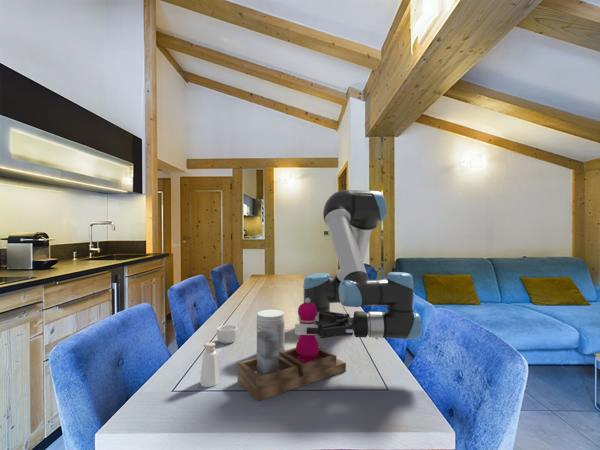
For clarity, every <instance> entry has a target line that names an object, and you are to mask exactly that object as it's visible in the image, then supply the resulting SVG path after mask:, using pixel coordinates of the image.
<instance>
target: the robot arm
mask: <svg viewBox="0 0 600 450" xmlns="http://www.w3.org/2000/svg"><path fill="white" fill-rule="evenodd" d="M386 201H387V200H386V198H385V196H384V194H383V193H382V192H381V191H378V190H361V189H359V190H358V189H356V190H354V189H353V190H350V189H342V190H338V191H336V192H334V193H333V194H332V195H331V196H329V198H328V199H327V200H326V202H325V204H324V207H323V212H322V213H323V214H322V215H323V222H324V225H325V226H326V227H327V228H329V233H330V236H331V240H332V244H333V247H334V251H335V254H336V257H337V262H338V266H339V269H338V270H337V271H336V275H334V276H331V274H330V273H328V272H320V273H312V274H309V275H306V276H305V277H304V279H303V303H305V299H306V298H310V300H311V301H310V303H312V304H314V305H315V306H316V307H317V315H316V317H315V319H316V321H315V322H316V324H314V325H306V324H300V323H296V324H295V325H294V335H299V336H300V335H315V336H318V337H320V339H329V338H337V337H343V336H353V335H354V337H355V338H365V339H366V338H367V337H369V338H373V339H374V338H375V340H379V339H397V340H398V339H399V340H400V339H401V340H415V339H416V340H417V339H419V338H420V337H421V336H422V333H423V323H422V318H421V315H420V314H419V313H418V312H414V311H415V310H414V289H415V288H414V278H413V275H412V274H411V273H408V272H401V271H391V272H388V273H387V274H386V279H370V278H369V276H368V273H367V270H366V266H365V264H364V261H365V257H366V253H367V248H368V245H369V242H370V238H371V236H372V235H371V234H372V231H374V230H375V229H376V228H377V226H378V224H379V222H383V221H385V219H386V218H387V212H388V211H387V210H388V209H387V207H388V206H387V202H386ZM335 303H336V304H338V303H339V304H341V305H342V306H343V307H351V308H360V307H372V306H374V307H375V306H376V307H378V306H381V307H382V306H383V307H385V306H386V311H368V312H366V311H364V310H363V311H361V310H358V311H354V312H353V317H351V316H350V314H349V313H341V312H334V311H331V307H330V306H331V304H335ZM299 319H300V316H299V315H298V322H300V320H299Z"/></svg>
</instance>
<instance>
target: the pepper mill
mask: <svg viewBox="0 0 600 450" xmlns="http://www.w3.org/2000/svg"><path fill="white" fill-rule="evenodd" d="M310 301H311V300H310V298H306V299H305V303H304V302H303V303H301V304H299V306H298V309H297V314H298V317H299V316H300V319H299V318H298V322H299V323H300V324H306V325H314V324H316V322H315V321H316V319H315V317H316V315H317V307H316V306H315V305H314V304H312V303H310ZM299 320H300V321H299ZM299 323H298V324H299ZM295 348H296V353H297V354H298V355H299V356H298V357H297V360H299V361H301V362H303V363H307V362H310V361H314V360H317V359H318V357H317V355H318V353H319V348H320V345H319V342H318V340H317V337H316V335H299V337H298V340H297V341H296V345H295Z"/></svg>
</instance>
